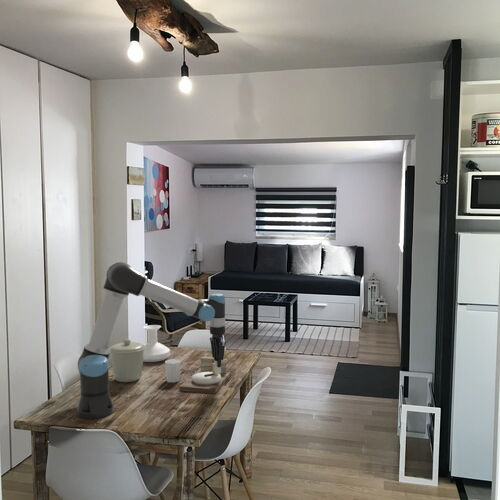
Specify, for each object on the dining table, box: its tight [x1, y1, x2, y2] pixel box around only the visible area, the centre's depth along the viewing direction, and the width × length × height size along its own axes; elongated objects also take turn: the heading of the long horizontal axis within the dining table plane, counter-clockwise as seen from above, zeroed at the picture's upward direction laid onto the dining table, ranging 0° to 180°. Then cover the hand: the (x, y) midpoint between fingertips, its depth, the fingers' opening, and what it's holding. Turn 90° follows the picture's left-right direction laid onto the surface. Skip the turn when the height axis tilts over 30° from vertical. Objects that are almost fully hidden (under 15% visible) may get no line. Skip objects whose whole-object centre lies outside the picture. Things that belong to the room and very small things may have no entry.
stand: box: [178, 356, 232, 394], centre depth 262 cm, size 27×18×9 cm, turn 166°
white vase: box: [142, 324, 171, 363], centre depth 304 cm, size 20×20×19 cm
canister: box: [108, 338, 145, 383], centre depth 268 cm, size 18×18×21 cm
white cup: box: [164, 358, 182, 384], centre depth 266 cm, size 8×8×10 cm
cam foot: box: [191, 363, 221, 385], centre depth 259 cm, size 14×14×8 cm
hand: (218, 373), depth 257 cm, fingers closed
